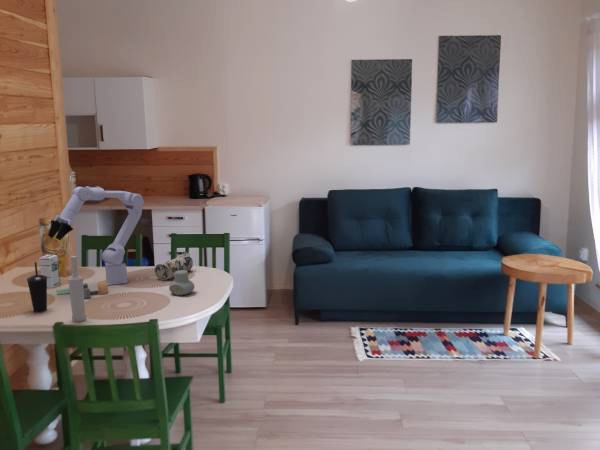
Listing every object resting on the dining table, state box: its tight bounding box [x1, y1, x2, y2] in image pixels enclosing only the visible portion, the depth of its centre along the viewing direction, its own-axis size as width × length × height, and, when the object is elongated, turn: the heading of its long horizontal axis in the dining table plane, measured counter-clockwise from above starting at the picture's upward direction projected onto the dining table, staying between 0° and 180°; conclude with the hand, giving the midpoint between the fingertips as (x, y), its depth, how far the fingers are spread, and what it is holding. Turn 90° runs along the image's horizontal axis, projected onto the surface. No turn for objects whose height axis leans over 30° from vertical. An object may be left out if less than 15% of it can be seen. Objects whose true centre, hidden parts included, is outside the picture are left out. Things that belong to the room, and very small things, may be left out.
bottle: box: [67, 255, 87, 323], centre depth 213 cm, size 5×5×25 cm
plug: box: [90, 280, 109, 296], centre depth 247 cm, size 9×4×5 cm, turn 116°
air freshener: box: [168, 270, 195, 296], centre depth 246 cm, size 11×8×10 cm
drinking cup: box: [26, 262, 48, 313], centre depth 225 cm, size 8×8×20 cm
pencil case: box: [154, 252, 194, 281], centre depth 275 cm, size 22×8×10 cm, turn 157°
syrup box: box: [39, 255, 62, 289], centre depth 259 cm, size 6×6×14 cm
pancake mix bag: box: [37, 217, 70, 278], centre depth 278 cm, size 7×19×28 cm, turn 65°
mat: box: [56, 288, 70, 296], centre depth 251 cm, size 7×7×1 cm
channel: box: [83, 282, 92, 300], centre depth 244 cm, size 6×12×4 cm, turn 27°
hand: (53, 237), depth 241 cm, fingers open, 7 cm apart
